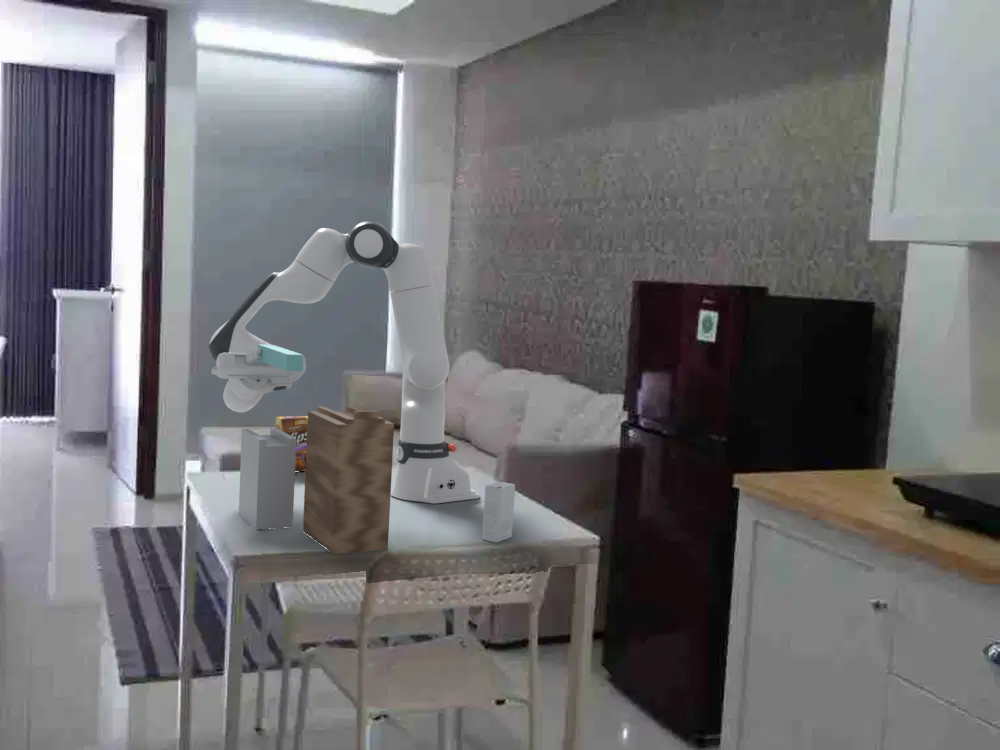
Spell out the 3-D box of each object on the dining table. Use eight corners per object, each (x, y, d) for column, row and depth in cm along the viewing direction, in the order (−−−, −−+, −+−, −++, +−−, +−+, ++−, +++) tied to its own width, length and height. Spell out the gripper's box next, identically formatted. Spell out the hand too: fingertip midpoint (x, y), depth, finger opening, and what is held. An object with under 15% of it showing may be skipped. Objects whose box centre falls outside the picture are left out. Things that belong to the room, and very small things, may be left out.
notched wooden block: (355, 528, 226) (361, 399, 223) (387, 549, 211) (394, 411, 208) (302, 531, 220) (308, 399, 218) (331, 554, 205) (338, 411, 202)
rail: (272, 359, 237) (273, 344, 236) (302, 371, 217) (303, 354, 217) (257, 359, 235) (257, 344, 234) (286, 371, 216) (287, 354, 215)
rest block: (273, 512, 235) (276, 428, 234) (292, 527, 223) (296, 438, 221) (238, 514, 232) (241, 428, 230) (256, 530, 219) (259, 439, 217)
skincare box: (495, 534, 228) (498, 480, 227) (512, 538, 226) (516, 483, 224) (480, 539, 223) (483, 484, 221) (498, 543, 220) (501, 487, 219)
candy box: (278, 474, 278) (280, 418, 277) (272, 471, 282) (274, 415, 280) (309, 472, 283) (311, 417, 282) (303, 469, 287) (305, 415, 285)
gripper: (208, 362, 239) (222, 337, 228) (293, 364, 249) (311, 340, 238) (210, 387, 237) (224, 363, 226) (296, 388, 247) (314, 365, 236)
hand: (269, 351), depth 232 cm, fingers closed on rail, 3 cm apart
